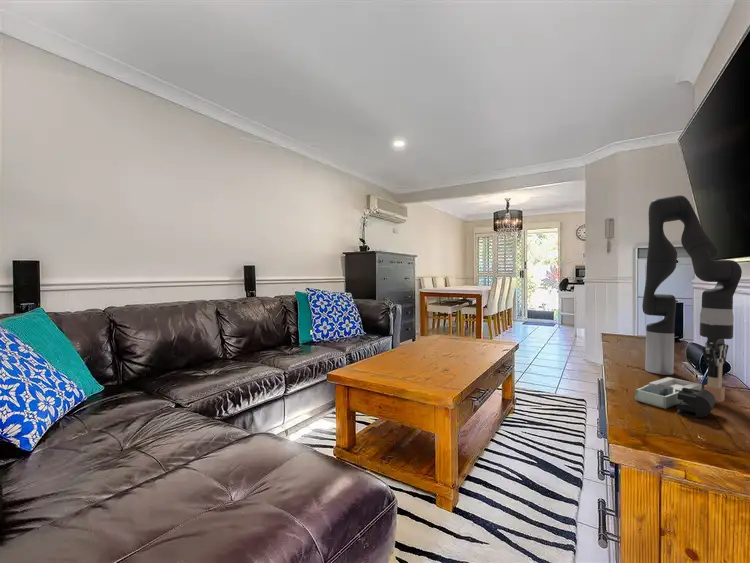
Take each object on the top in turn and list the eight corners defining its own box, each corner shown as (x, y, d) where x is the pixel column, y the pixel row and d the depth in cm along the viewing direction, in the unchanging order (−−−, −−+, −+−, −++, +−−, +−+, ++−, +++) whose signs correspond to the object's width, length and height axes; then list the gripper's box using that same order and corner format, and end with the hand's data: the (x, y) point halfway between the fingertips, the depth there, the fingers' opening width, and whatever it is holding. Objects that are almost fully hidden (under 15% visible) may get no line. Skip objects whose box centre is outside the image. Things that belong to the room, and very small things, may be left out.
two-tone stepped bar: (707, 396, 111) (708, 359, 111) (724, 400, 107) (725, 362, 107) (703, 397, 109) (705, 360, 109) (720, 402, 106) (722, 363, 106)
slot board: (663, 386, 125) (663, 376, 125) (707, 397, 114) (707, 385, 114) (643, 393, 117) (643, 381, 117) (688, 404, 107) (688, 392, 107)
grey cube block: (658, 395, 114) (658, 383, 114) (673, 399, 110) (673, 387, 110) (652, 397, 112) (652, 385, 112) (667, 401, 108) (667, 389, 108)
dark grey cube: (650, 385, 112) (644, 386, 110) (665, 388, 109) (659, 390, 107) (650, 397, 112) (644, 399, 110) (665, 401, 109) (659, 403, 107)
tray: (650, 395, 116) (650, 384, 116) (680, 402, 109) (680, 391, 109) (635, 400, 111) (635, 389, 110) (665, 408, 104) (665, 397, 104)
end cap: (710, 422, 94) (711, 398, 94) (676, 414, 100) (677, 391, 100) (715, 413, 100) (716, 391, 100) (683, 406, 106) (683, 384, 106)
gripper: (709, 320, 115) (707, 371, 115) (691, 322, 108) (690, 376, 108) (740, 322, 108) (739, 376, 108) (724, 325, 101) (722, 383, 102)
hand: (714, 376), depth 108 cm, fingers closed on two-tone stepped bar, 2 cm apart
